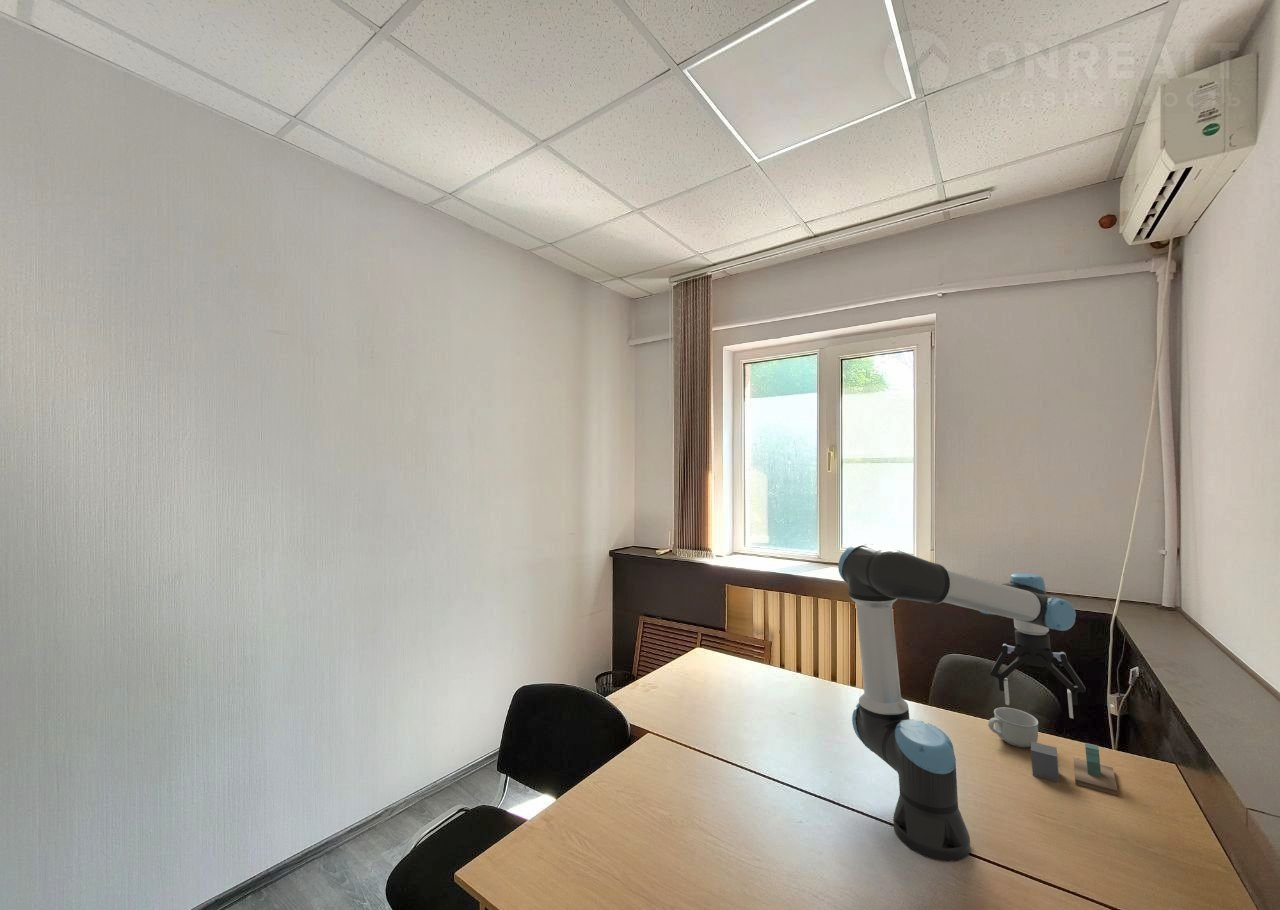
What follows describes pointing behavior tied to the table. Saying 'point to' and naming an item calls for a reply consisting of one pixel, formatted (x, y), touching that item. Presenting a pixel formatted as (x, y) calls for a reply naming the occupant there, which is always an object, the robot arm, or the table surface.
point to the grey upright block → (1044, 761)
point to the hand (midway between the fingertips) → (1038, 709)
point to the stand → (1094, 772)
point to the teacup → (1014, 726)
